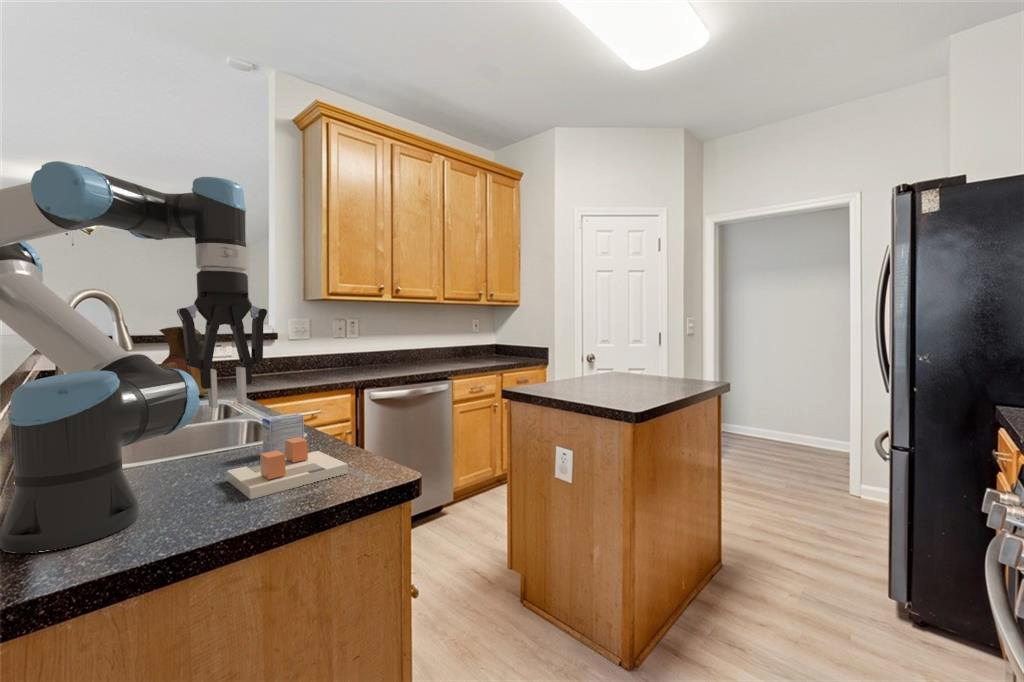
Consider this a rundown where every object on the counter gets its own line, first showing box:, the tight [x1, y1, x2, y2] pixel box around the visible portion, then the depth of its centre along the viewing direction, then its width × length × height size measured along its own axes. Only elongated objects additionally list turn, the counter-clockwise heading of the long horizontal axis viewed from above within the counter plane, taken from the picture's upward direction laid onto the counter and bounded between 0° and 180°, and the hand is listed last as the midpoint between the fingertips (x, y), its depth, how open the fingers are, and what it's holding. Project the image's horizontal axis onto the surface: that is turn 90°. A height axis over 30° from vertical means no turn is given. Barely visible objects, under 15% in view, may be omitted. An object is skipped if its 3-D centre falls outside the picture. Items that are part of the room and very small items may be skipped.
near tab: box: [259, 450, 286, 479], centre depth 86 cm, size 3×4×4 cm
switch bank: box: [226, 450, 349, 500], centre depth 91 cm, size 18×14×2 cm
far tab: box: [285, 437, 309, 462], centre depth 96 cm, size 3×4×4 cm
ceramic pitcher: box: [158, 326, 208, 396], centre depth 187 cm, size 20×20×30 cm
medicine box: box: [261, 412, 305, 455], centre depth 109 cm, size 8×4×9 cm, turn 141°
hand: (227, 404), depth 80 cm, fingers open, 4 cm apart
